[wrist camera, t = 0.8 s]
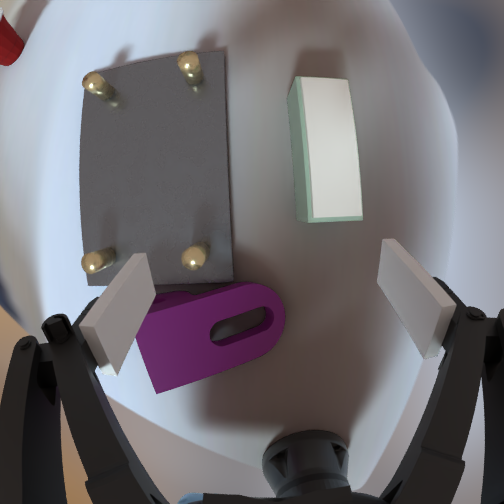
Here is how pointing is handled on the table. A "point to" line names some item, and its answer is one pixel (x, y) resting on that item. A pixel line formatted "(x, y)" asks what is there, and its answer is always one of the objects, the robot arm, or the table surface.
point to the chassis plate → (156, 170)
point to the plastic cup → (9, 42)
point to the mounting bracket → (205, 333)
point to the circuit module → (324, 150)
